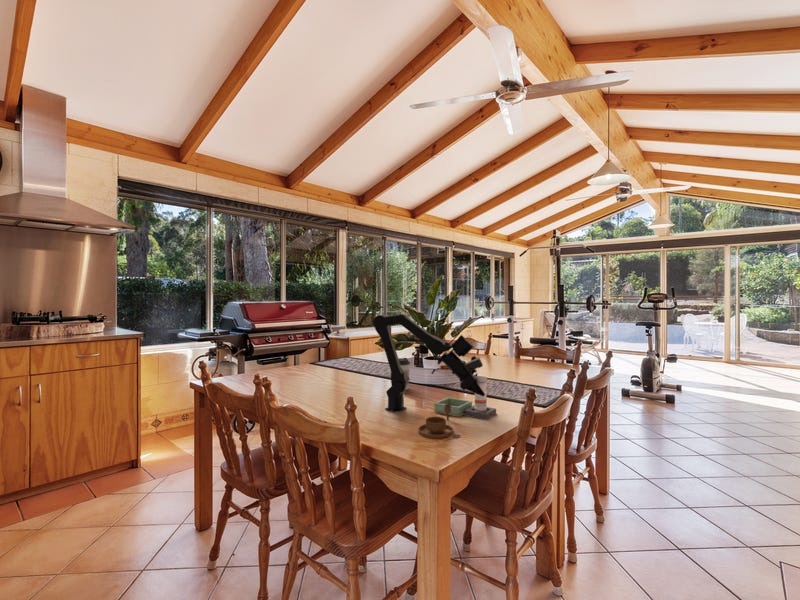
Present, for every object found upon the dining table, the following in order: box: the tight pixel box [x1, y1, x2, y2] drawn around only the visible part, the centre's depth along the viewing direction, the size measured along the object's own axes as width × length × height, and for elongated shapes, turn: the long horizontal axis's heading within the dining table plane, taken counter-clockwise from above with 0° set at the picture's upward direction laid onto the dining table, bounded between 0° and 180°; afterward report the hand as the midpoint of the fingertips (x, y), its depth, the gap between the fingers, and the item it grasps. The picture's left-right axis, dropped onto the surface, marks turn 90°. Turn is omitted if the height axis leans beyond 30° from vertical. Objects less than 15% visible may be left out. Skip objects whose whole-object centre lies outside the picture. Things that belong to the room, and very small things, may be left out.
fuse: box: [473, 375, 488, 412], centre depth 156 cm, size 5×5×13 cm
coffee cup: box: [398, 357, 411, 391], centre depth 200 cm, size 9×9×15 cm
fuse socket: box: [464, 405, 497, 420], centre depth 157 cm, size 9×9×2 cm
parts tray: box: [433, 397, 473, 418], centre depth 162 cm, size 11×11×4 cm
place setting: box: [417, 405, 461, 442], centre depth 140 cm, size 18×20×6 cm
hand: (484, 393), depth 156 cm, fingers closed on fuse, 4 cm apart
